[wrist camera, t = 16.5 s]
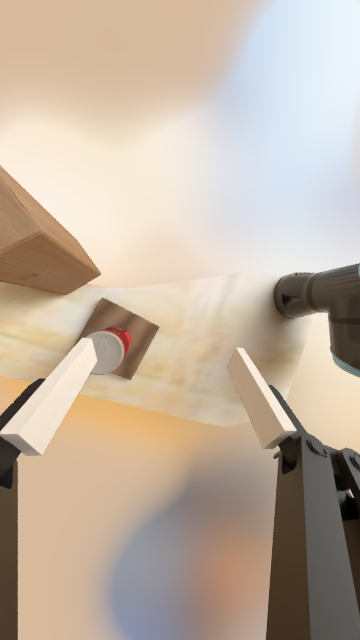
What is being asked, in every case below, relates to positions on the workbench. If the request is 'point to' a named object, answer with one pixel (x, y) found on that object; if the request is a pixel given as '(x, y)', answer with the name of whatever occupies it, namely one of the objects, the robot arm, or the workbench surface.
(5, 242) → the wooden block
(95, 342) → the canned food
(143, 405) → the workbench surface
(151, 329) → the walnut board
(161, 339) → the workbench surface
